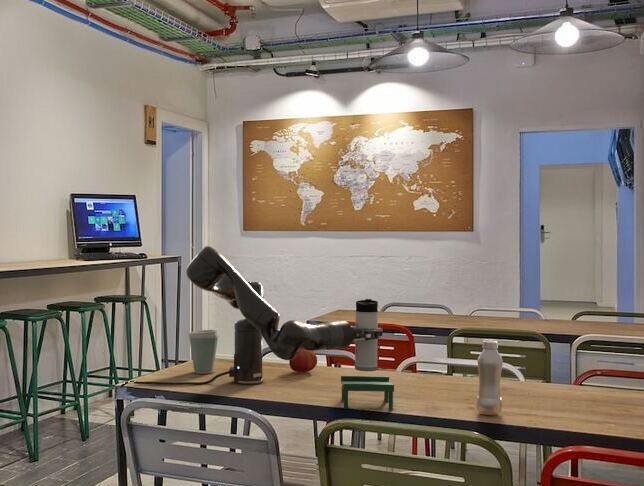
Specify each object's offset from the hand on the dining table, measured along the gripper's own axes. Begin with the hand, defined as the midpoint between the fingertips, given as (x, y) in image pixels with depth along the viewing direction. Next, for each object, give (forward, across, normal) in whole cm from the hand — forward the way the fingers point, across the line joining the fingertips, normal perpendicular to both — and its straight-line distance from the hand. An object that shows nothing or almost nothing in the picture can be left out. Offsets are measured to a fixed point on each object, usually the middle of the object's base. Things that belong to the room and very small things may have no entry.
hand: (372, 330), depth 213 cm
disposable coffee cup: (-7, -70, -21) cm, 74 cm away
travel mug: (-2, 0, -11) cm, 11 cm away
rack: (-2, 0, -21) cm, 21 cm away
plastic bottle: (+14, +29, -21) cm, 39 cm away
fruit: (+19, -47, -21) cm, 55 cm away
